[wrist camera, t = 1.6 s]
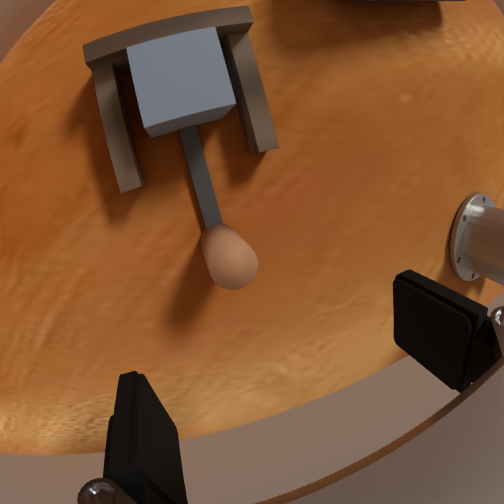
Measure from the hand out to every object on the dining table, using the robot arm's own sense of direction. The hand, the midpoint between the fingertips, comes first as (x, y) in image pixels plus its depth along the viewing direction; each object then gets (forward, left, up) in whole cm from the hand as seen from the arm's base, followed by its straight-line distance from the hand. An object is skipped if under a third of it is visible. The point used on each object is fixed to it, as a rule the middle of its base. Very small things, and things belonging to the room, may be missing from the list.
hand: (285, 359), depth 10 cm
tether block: (+5, -5, -17) cm, 19 cm away
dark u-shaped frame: (+8, -8, -17) cm, 21 cm away
